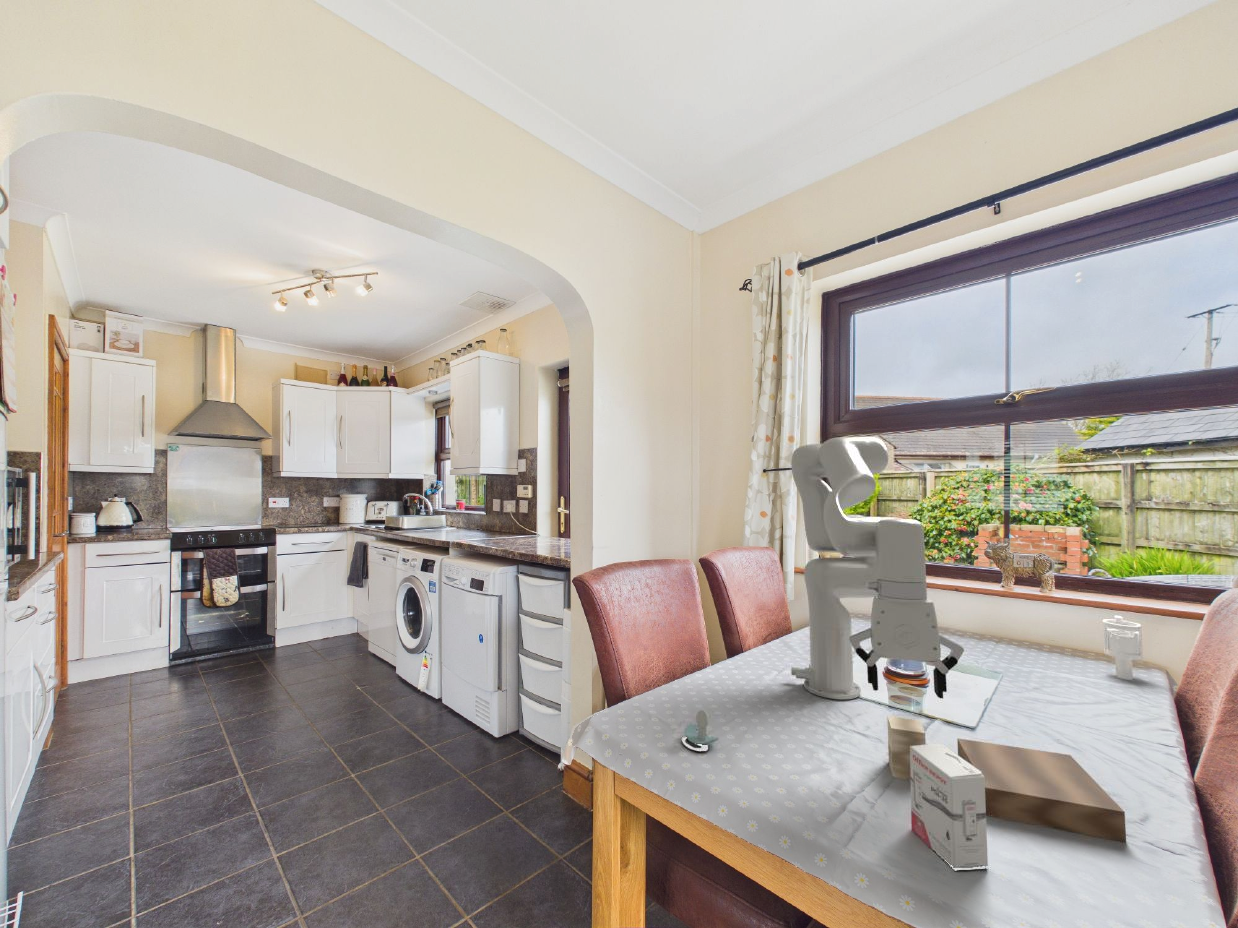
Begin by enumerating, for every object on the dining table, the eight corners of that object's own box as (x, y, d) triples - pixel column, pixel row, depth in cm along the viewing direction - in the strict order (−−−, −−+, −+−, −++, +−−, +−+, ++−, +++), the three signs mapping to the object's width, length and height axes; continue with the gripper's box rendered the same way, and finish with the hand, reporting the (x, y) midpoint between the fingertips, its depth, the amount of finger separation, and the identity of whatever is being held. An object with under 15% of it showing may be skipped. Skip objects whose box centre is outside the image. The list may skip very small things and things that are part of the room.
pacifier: (698, 758, 91) (723, 748, 95) (697, 723, 92) (722, 714, 95) (673, 741, 98) (697, 733, 101) (672, 709, 98) (696, 701, 101)
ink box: (909, 827, 72) (906, 742, 73) (941, 825, 73) (938, 741, 73) (954, 873, 64) (950, 776, 64) (990, 870, 64) (986, 774, 65)
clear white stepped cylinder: (1139, 675, 130) (1135, 617, 131) (1148, 684, 124) (1145, 623, 125) (1102, 670, 134) (1099, 613, 135) (1109, 679, 128) (1106, 619, 129)
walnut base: (986, 815, 75) (985, 787, 75) (958, 761, 90) (957, 738, 90) (1126, 841, 69) (1124, 811, 69) (1071, 779, 84) (1070, 754, 84)
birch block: (892, 776, 85) (891, 727, 86) (888, 761, 90) (887, 715, 90) (926, 782, 83) (925, 732, 84) (921, 767, 88) (919, 720, 88)
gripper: (848, 590, 88) (852, 692, 86) (966, 597, 81) (972, 707, 80) (846, 584, 95) (849, 678, 93) (954, 589, 88) (959, 690, 87)
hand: (906, 691), depth 87 cm, fingers open, 9 cm apart
